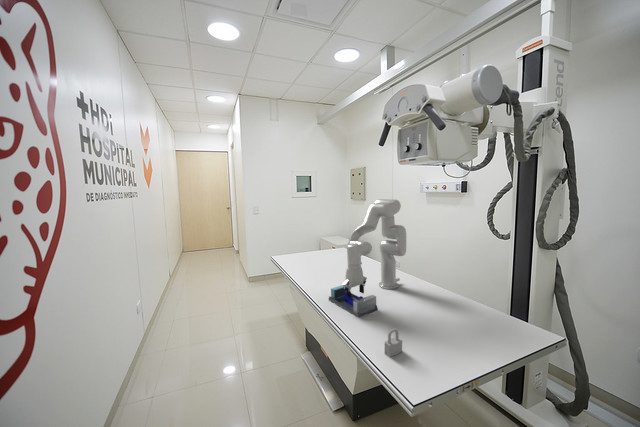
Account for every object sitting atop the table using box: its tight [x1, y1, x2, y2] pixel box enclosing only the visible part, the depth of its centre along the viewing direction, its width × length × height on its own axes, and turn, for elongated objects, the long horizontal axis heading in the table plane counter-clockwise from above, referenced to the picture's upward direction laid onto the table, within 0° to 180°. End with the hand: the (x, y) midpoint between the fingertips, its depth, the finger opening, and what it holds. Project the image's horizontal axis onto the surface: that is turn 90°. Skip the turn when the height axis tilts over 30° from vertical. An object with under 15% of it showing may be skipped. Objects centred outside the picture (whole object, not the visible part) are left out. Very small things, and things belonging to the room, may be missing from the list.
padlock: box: [383, 328, 403, 358], centre depth 107 cm, size 7×4×10 cm, turn 118°
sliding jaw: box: [330, 285, 349, 299], centre depth 160 cm, size 12×3×6 cm, turn 124°
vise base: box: [328, 292, 379, 318], centre depth 151 cm, size 14×27×8 cm, turn 34°
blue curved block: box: [345, 291, 364, 306], centre depth 149 cm, size 12×4×6 cm, turn 34°
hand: (355, 294), depth 149 cm, fingers open, 9 cm apart
